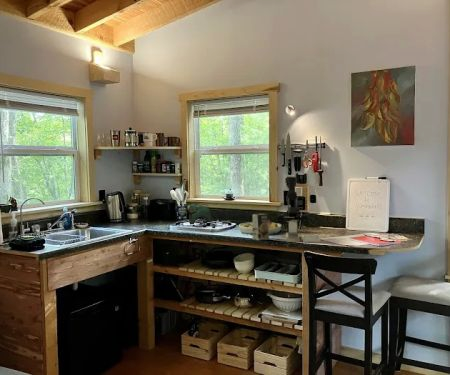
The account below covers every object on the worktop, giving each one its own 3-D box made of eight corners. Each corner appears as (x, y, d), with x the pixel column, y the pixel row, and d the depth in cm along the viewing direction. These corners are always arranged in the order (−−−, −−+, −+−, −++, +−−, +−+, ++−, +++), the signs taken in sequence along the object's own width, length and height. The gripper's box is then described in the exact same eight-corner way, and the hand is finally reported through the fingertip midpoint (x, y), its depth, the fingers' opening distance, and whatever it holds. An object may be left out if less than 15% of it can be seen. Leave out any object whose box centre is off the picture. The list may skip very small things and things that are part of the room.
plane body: (285, 236, 276) (285, 224, 276) (298, 236, 275) (298, 224, 275) (286, 241, 258) (286, 228, 257) (299, 241, 257) (299, 228, 256)
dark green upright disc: (189, 227, 320) (189, 201, 319) (186, 225, 326) (185, 200, 325) (212, 224, 330) (212, 199, 329) (208, 223, 336) (208, 199, 334)
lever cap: (288, 236, 264) (288, 220, 264) (296, 236, 264) (296, 220, 263) (288, 237, 260) (288, 221, 260) (297, 237, 260) (297, 221, 259)
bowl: (279, 236, 278) (279, 224, 278) (235, 235, 284) (235, 223, 284) (282, 229, 308) (282, 218, 307) (242, 228, 314) (242, 217, 313)
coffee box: (258, 240, 263) (258, 215, 262) (252, 239, 268) (252, 214, 267) (269, 238, 268) (269, 213, 267) (262, 237, 273) (262, 212, 272)
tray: (302, 238, 267) (302, 235, 267) (319, 238, 266) (319, 235, 266) (303, 241, 257) (303, 238, 257) (320, 241, 256) (320, 238, 255)
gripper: (277, 202, 266) (277, 221, 256) (307, 202, 264) (308, 222, 253) (277, 213, 274) (277, 232, 264) (306, 213, 272) (307, 232, 261)
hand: (292, 229), depth 260 cm, fingers open, 9 cm apart
